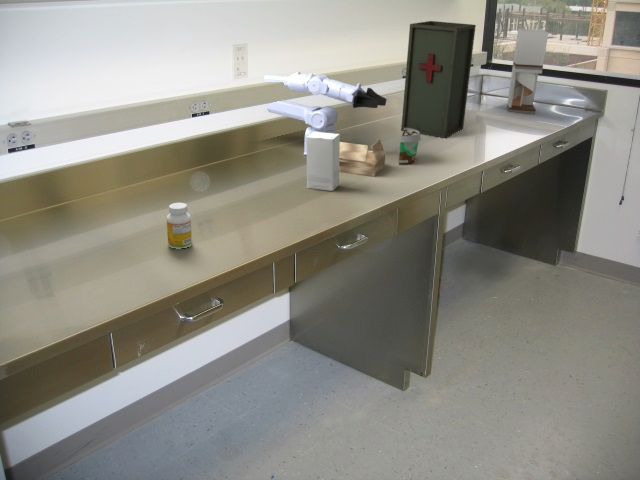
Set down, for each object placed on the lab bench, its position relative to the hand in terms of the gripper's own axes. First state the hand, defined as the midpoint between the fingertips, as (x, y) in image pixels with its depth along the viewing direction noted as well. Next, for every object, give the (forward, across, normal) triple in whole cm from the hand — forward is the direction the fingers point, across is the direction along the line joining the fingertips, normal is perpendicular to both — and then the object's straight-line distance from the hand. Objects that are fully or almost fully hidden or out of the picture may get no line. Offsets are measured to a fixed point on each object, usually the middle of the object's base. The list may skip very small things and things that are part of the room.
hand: (381, 103), depth 207 cm
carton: (-1, -5, +21) cm, 21 cm away
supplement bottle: (-13, -83, +29) cm, 89 cm away
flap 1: (-1, -14, +17) cm, 22 cm away
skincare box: (-2, -29, +23) cm, 37 cm away
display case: (+30, +113, +6) cm, 117 cm away
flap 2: (+6, -7, +15) cm, 18 cm away
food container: (+12, +9, +18) cm, 23 cm away
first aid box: (+6, +55, +15) cm, 58 cm away
